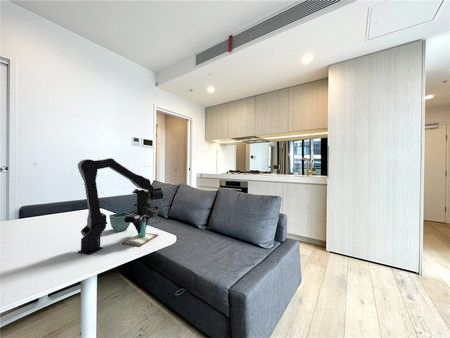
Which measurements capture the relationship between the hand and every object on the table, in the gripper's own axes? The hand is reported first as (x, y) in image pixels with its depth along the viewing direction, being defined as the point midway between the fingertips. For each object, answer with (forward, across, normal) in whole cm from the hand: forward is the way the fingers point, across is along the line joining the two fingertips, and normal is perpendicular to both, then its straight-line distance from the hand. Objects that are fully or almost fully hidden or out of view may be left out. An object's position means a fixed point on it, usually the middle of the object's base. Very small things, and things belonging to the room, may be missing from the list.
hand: (141, 231), depth 98 cm
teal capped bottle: (+2, 0, 0) cm, 2 cm away
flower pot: (+3, +7, +19) cm, 21 cm away
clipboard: (+3, -2, -1) cm, 4 cm away
